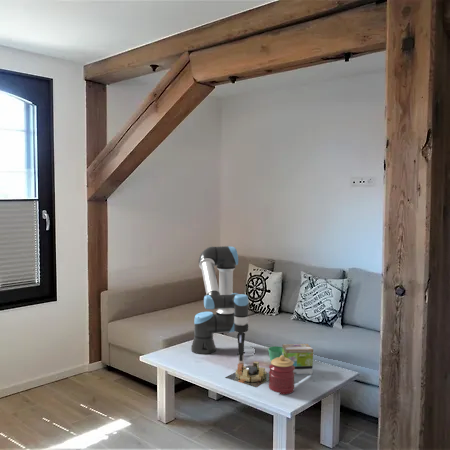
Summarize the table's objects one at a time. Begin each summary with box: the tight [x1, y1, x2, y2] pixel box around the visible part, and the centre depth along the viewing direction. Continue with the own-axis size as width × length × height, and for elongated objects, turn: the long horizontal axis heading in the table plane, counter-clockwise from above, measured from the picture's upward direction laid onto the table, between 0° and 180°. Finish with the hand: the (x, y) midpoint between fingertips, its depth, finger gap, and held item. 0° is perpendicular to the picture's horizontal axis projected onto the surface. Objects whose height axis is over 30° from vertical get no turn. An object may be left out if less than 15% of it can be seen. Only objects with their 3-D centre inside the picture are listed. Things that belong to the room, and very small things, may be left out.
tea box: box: [281, 343, 314, 376], centre depth 268 cm, size 15×10×15 cm, turn 99°
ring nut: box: [235, 360, 268, 382], centre depth 259 cm, size 16×16×5 cm
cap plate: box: [224, 364, 269, 388], centre depth 259 cm, size 20×20×6 cm
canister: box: [268, 355, 296, 395], centre depth 245 cm, size 13×13×18 cm
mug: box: [268, 345, 282, 362], centre depth 279 cm, size 15×10×10 cm
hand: (241, 365), depth 264 cm, fingers closed
